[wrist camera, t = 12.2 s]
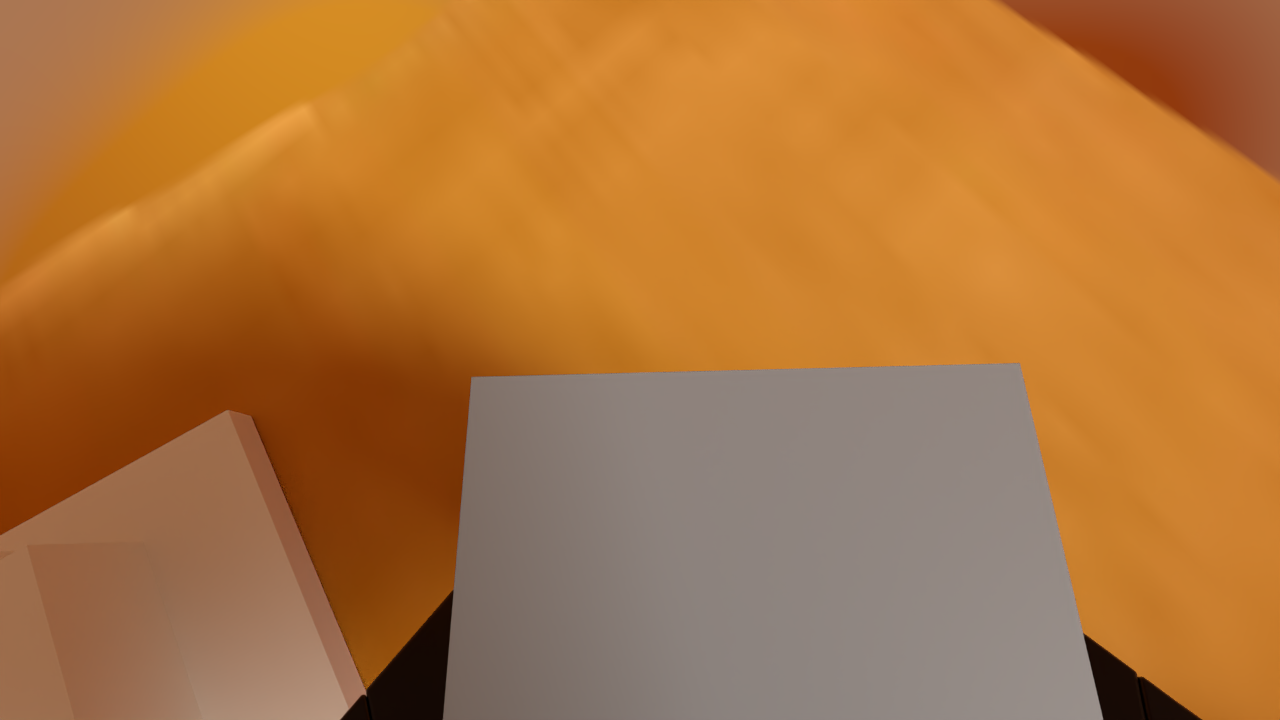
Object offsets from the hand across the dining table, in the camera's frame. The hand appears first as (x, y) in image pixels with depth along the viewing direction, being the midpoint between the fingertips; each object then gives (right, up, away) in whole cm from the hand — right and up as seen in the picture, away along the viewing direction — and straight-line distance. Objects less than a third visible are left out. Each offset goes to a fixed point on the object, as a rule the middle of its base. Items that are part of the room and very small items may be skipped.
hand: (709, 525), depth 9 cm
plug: (0, -3, +7) cm, 8 cm away
